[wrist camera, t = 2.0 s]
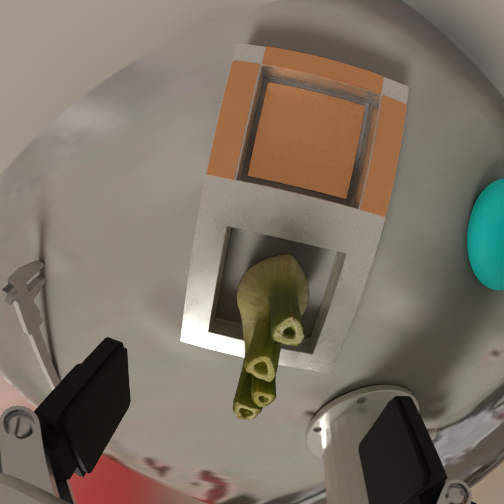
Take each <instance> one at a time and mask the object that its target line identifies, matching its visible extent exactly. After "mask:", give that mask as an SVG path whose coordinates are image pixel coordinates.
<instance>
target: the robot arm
mask: <svg viewBox="0 0 504 504" xmlns="http://www.w3.org/2000/svg"><path fill="white" fill-rule="evenodd" d="M130 401H131V400H130V388H129V374H128V355H127V349H126V348H124V346H123V343H122V342H120V341H117V340H114V339H111V338H109V337H107V338H105V339H104V340H103V341H102V342H101V343H100V344H99V345H98V346H97V347H96V349H95V350H94V351H93V352H92V353H91V354H90V355H89V356H88V357H87V358H86V359H85V360H84V361H83V362H82V364H77V365H76V366H75V367H74V368H73V369H72V370H71V371H70V372H69V373H68V374H67V375H66V376H65V378H64V379H63V380H62V381H61V382H60V383H59V384H58V385H57V386H56V387H55V389H54V390H53V391H52V392H51V393H50V394H49V395H48V396H47V397H46V399H45V400H44V401H43V402H42V403H41V404H40V405H39V407H38V408H37V409H36V410H35V411H34V412H33V411H32V410H30V409H29V408H26V407H24V406H13V407H10V408H8V409H6V410H5V411H4V412H3V413H2V415H1V417H0V504H77V503H76V500H75V497H74V494H73V492H72V489H71V485H70V482H69V479H70V478H71V476H72V475H73V473H76V474H77V475H79V476H81V477H84V475H85V474H86V472H87V473H91V472H92V470H93V469H94V467H95V465H96V463H97V462H98V460H99V458H100V456H101V455H102V453H103V451H104V449H105V448H106V446H107V444H108V442H109V441H110V439H111V437H112V435H113V434H114V432H115V430H116V428H117V427H118V425H119V423H120V422H121V420H122V418H123V416H124V415H125V413H126V411H127V410H128V408H129V405H130ZM436 434H437V431H436V429H435V428H432V429H426V427H425V424H424V422H423V420H422V418H421V416H420V408H419V404H418V402H417V400H416V398H415V396H414V395H413V394H412V393H411V392H410V391H409V390H407V389H405V388H404V387H400V386H396V385H374V386H369V387H365V388H361V389H358V390H355V391H352V392H349V393H347V394H345V395H342V396H340V397H338V398H337V399H335V400H333V401H332V402H330V403H328V404H327V405H326V406H324V407H323V408H322V409H321V410H319V412H318V413H317V414H316V415H315V416H314V417H313V418H312V420H311V422H310V423H309V425H308V429H307V444H308V447H309V449H310V451H311V452H312V453H313V454H314V455H316V456H317V457H319V458H321V459H323V460H324V471H325V483H326V496H327V504H476V503H474V502H472V501H471V499H472V494H471V490H470V488H469V486H468V485H467V484H466V483H464V482H463V481H460V480H451V481H449V482H447V483H445V480H446V479H447V475H446V473H445V470H444V468H443V465H442V463H441V461H440V458H439V456H438V453H437V451H436V449H435V447H434V443H433V441H432V439H434V438H435V437H436Z"/></svg>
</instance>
